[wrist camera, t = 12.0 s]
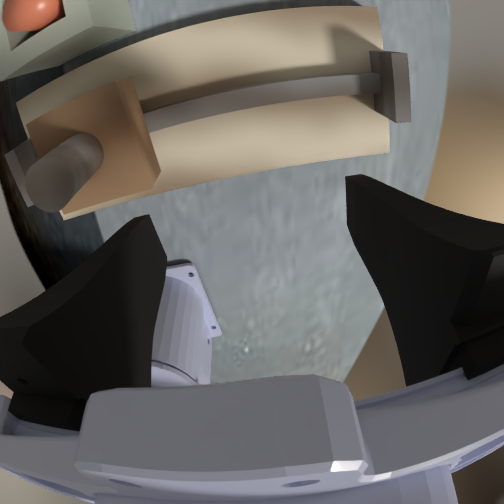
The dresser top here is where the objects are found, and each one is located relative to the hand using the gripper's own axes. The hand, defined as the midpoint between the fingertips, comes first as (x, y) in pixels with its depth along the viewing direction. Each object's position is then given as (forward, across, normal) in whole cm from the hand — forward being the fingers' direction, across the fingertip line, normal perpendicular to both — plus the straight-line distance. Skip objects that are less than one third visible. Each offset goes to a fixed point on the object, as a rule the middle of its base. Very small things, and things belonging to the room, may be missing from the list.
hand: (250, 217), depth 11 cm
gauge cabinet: (+10, +8, -12) cm, 18 cm away
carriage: (+7, +8, -3) cm, 11 cm away
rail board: (+10, +2, -3) cm, 11 cm away
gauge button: (+6, +8, -12) cm, 16 cm away
